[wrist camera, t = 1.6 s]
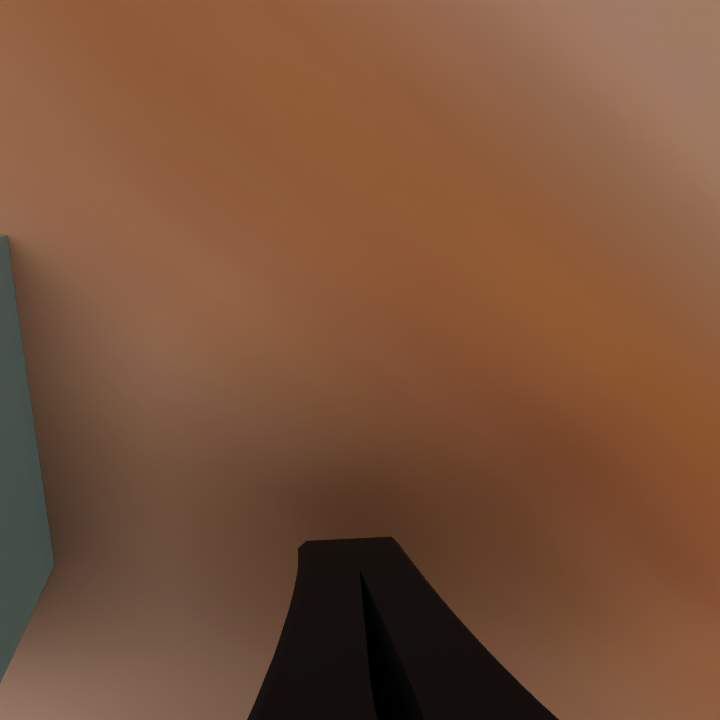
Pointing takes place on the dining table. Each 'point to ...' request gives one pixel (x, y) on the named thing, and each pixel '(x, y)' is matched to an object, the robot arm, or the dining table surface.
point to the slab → (18, 481)
